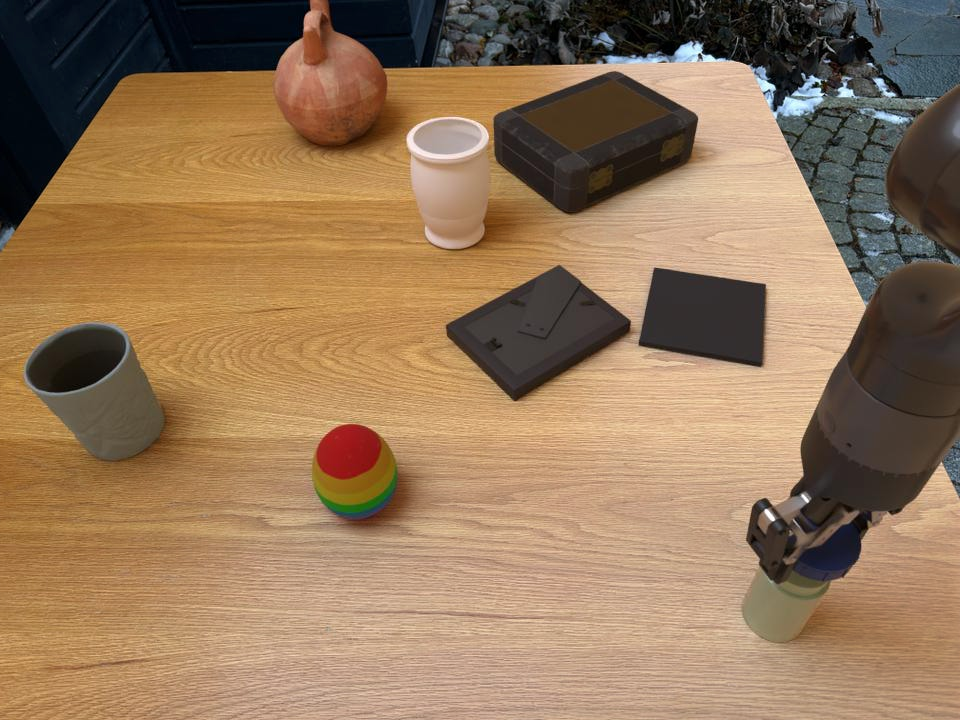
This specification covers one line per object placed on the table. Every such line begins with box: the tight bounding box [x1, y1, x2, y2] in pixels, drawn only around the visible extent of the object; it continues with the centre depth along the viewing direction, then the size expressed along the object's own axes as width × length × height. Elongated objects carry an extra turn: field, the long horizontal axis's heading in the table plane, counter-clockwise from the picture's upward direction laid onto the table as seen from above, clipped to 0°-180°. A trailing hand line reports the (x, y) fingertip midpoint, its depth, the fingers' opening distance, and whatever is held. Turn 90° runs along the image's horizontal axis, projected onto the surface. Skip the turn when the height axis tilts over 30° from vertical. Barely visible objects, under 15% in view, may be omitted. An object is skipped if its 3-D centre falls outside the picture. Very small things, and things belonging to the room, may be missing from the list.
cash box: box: [493, 70, 699, 213], centre depth 114 cm, size 25×20×8 cm
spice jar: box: [741, 565, 832, 643], centre depth 62 cm, size 5×5×9 cm
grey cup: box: [23, 321, 165, 462], centre depth 78 cm, size 10×10×12 cm
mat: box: [638, 267, 767, 368], centre depth 91 cm, size 14×14×1 cm
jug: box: [272, 0, 388, 147], centre depth 119 cm, size 18×18×20 cm
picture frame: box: [445, 264, 632, 402], centre depth 90 cm, size 13×2×18 cm
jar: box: [406, 116, 492, 250], centre depth 100 cm, size 11×10×15 cm
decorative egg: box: [311, 423, 399, 520], centre depth 72 cm, size 8×8×10 cm
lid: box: [788, 514, 862, 582], centre depth 56 cm, size 6×6×2 cm
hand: (807, 557), depth 58 cm, fingers closed on lid, 5 cm apart
